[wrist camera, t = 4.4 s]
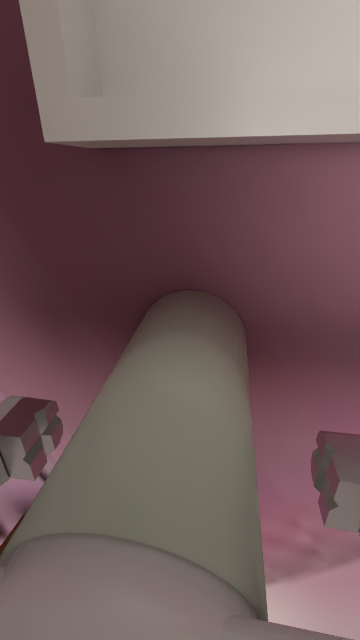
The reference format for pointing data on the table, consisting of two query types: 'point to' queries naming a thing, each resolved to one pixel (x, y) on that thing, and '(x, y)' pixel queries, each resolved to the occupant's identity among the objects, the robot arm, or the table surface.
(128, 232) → the table surface
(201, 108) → the tray
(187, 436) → the cylinder
